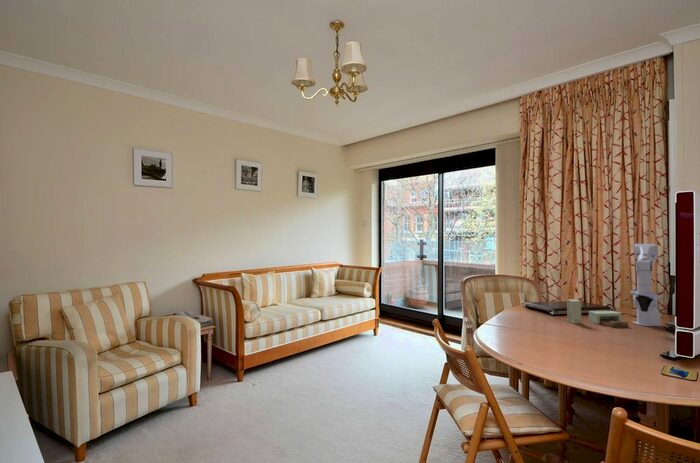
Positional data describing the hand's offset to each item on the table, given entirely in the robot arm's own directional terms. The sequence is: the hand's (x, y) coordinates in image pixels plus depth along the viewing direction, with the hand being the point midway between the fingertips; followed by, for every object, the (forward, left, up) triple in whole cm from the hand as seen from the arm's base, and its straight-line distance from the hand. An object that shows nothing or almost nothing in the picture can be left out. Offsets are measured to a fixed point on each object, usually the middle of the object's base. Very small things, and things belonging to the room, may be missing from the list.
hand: (644, 311), depth 178 cm
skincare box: (+23, -19, -10) cm, 31 cm away
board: (+6, -14, -10) cm, 18 cm away
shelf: (+6, -18, -10) cm, 21 cm away
